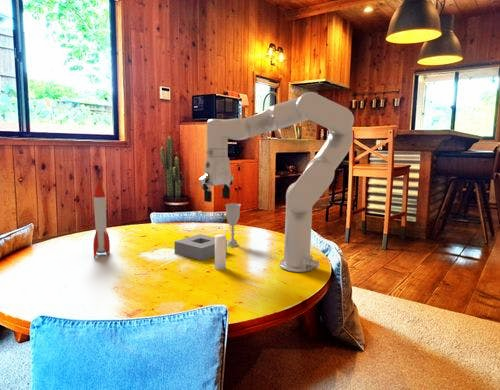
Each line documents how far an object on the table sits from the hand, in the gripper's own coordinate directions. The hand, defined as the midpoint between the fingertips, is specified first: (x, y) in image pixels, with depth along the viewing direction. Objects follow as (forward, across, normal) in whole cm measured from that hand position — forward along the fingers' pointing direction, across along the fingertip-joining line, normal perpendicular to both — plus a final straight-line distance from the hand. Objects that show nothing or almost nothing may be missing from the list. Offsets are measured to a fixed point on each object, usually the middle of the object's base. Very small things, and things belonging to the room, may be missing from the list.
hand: (217, 200), depth 138 cm
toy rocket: (+24, -24, +40) cm, 52 cm away
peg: (+24, -4, -5) cm, 25 cm away
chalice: (+24, +21, +11) cm, 34 cm away
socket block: (+24, +4, +13) cm, 27 cm away
